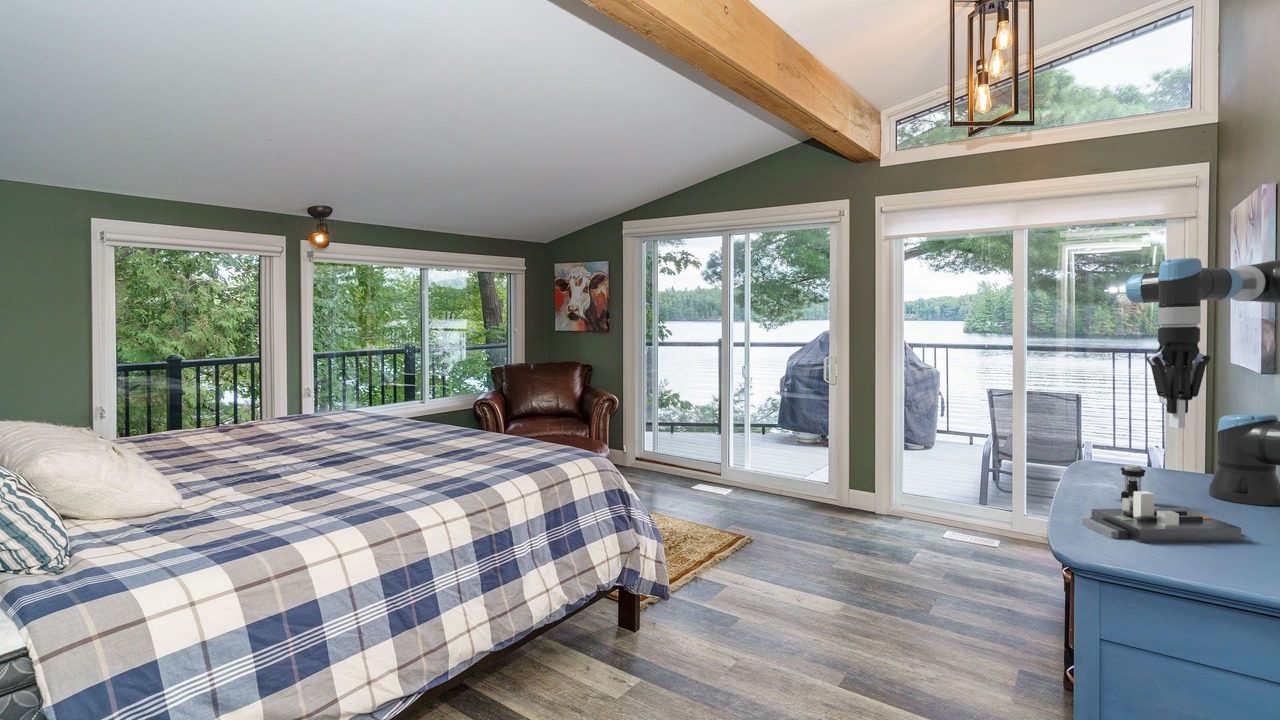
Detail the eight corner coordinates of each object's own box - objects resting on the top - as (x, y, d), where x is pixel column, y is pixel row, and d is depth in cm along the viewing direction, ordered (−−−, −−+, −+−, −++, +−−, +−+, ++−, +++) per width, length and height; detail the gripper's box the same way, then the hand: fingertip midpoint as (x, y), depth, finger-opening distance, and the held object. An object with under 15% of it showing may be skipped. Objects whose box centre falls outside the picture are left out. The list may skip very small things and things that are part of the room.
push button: (1112, 501, 176) (1113, 465, 175) (1116, 497, 180) (1116, 462, 179) (1143, 506, 171) (1143, 468, 171) (1146, 501, 175) (1146, 465, 174)
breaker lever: (1146, 516, 153) (1146, 491, 152) (1153, 519, 150) (1154, 493, 150) (1133, 516, 153) (1133, 491, 152) (1140, 519, 150) (1141, 494, 150)
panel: (1182, 519, 159) (1182, 495, 159) (1240, 541, 143) (1241, 514, 143) (1091, 520, 160) (1091, 497, 160) (1139, 542, 144) (1139, 516, 144)
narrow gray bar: (1096, 524, 157) (1096, 517, 157) (1126, 538, 147) (1126, 530, 147) (1082, 524, 157) (1082, 517, 157) (1111, 538, 147) (1111, 530, 147)
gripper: (1194, 325, 153) (1192, 424, 154) (1137, 326, 153) (1136, 425, 154) (1221, 325, 145) (1219, 429, 146) (1162, 326, 145) (1160, 430, 147)
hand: (1176, 427), depth 150 cm, fingers closed
